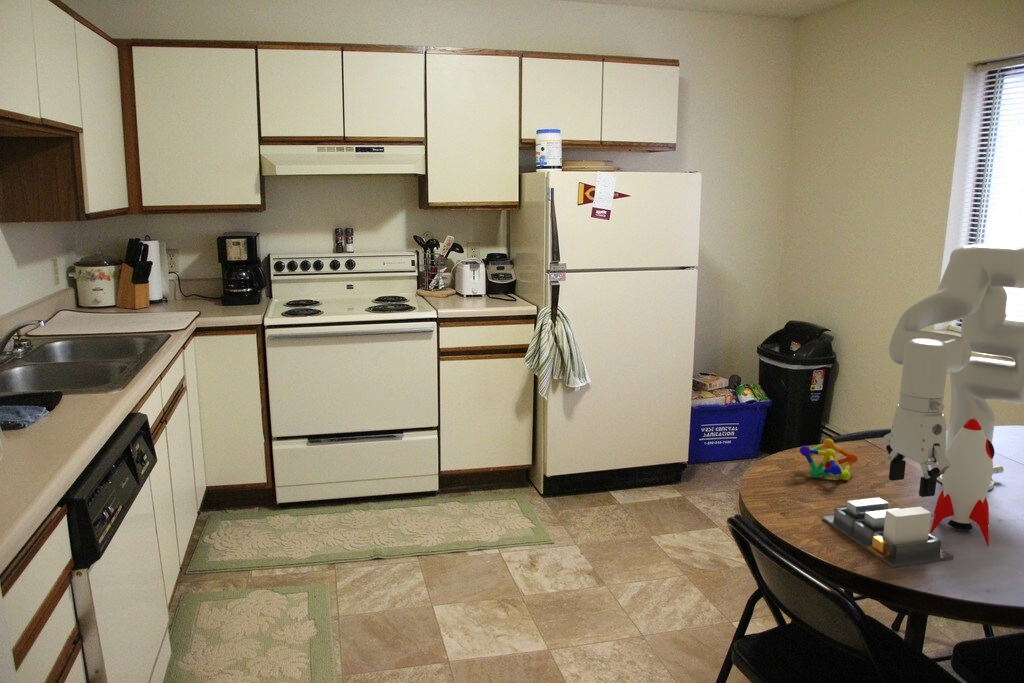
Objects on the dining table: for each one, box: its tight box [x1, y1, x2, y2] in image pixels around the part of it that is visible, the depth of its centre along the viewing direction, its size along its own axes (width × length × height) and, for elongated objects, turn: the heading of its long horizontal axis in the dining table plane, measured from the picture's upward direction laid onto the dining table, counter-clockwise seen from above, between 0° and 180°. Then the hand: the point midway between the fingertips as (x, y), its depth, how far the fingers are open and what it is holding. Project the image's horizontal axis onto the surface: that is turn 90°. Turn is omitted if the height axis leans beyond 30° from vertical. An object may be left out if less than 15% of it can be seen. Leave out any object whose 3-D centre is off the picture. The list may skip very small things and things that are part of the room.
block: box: [883, 506, 932, 545], centre depth 152 cm, size 8×3×8 cm, turn 102°
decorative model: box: [799, 438, 859, 481], centre depth 192 cm, size 13×9×15 cm
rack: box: [821, 497, 954, 569], centre depth 158 cm, size 14×22×6 cm, turn 13°
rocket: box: [929, 419, 995, 547], centre depth 159 cm, size 11×11×25 cm
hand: (911, 487), depth 150 cm, fingers open, 7 cm apart
